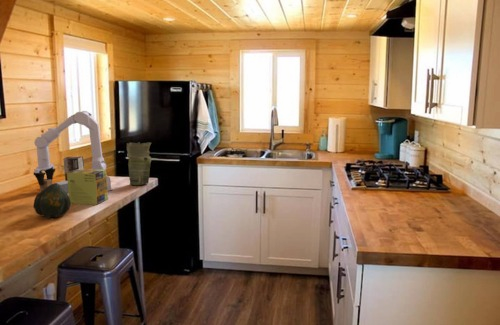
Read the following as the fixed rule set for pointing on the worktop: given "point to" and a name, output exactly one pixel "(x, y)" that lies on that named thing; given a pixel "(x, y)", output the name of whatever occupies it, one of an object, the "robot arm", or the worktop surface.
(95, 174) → the protein box
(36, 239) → the worktop surface
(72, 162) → the coffee box
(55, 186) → the squash
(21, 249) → the worktop surface
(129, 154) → the pouch
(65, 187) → the base block
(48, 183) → the walnut block
